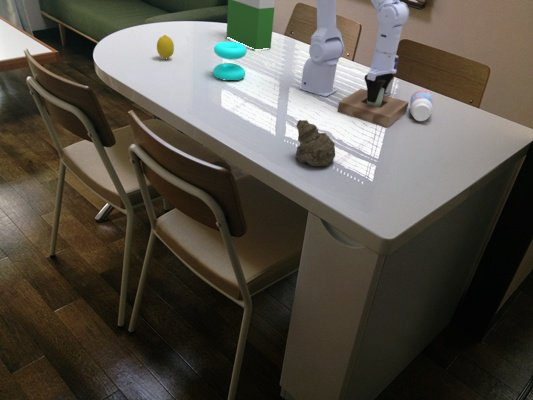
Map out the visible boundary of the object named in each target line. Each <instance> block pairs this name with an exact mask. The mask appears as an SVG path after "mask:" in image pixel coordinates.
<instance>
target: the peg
mask: <svg viewBox="0 0 533 400" xmlns="http://www.w3.org/2000/svg"><path fill="white" fill-rule="evenodd" d="M383 94H384V88H381V90H380V92H379V95H378V97H377V100H376V102H375V103H372V102H369V101H368V100H367V104H370V105H373V106H376V107H381V103H382V98H383Z"/></svg>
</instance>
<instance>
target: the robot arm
mask: <svg viewBox="0 0 533 400" xmlns="http://www.w3.org/2000/svg"><path fill="white" fill-rule="evenodd" d="M370 2H371V4H372V6H374V8H375V10H376V12H377V14H376V15H377V16H376V18H377V19H376V21H377V23H378V33H377V36H376V37H377V39H376V44H375V47H374V53H373V57H372V61H371V62H372V63H371V65H370V69H369V71H368V72H367V74H365V75H364V82H365V85H366V90H367V99H368V101H369V102H372V103H375V102H376V100H377V97H378V95H379V92H380V90H381V88H384V94H385V91H386V89H387V87H388V85H389V83H390V82H391V80H392V79H393V78H394V79H395V77H396V74H397V72H398V71H397V68H396V69H394V65H395V62H394V61H395V57H396V55H397V51H398V47H399V44H400V43H399V42H400V39H401V35H402V31H403V25H405V24H406V23H407V22H408V20H409V18H410V9H409V7H408V4H407V3H405V2H403V1H401V0H370ZM316 26H317V29H316V30H315V31H314V33H313V34H312V35H311V37H310V46H309V49H308V52H309V53H308V54H309V58H308V59H307V60H306V61H305V62H304V65H303V69H302V74H301V82H300V86H299V90H303V91H306V92H309V93H312V94H315V95H319V96H321V97H325V98H326V97H329V96H331V95H332V94H334V93H336V92H338V89H337V88H335V87H334V84H335V78H336V73H337V72H336V71H337V66H338V63H339V61H340V59H341V58H342V57H343V55H344V54H345V44H344V42H343V38H342V32H341V31H340V30H339V29H338V27H337V0H316ZM384 94H383V96H384Z"/></svg>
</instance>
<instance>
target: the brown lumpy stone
mask: <svg viewBox="0 0 533 400" xmlns="http://www.w3.org/2000/svg"><path fill="white" fill-rule="evenodd" d="M296 129H297V131H298V133H297V134H298V135H297V136H298V137H297V141H298V142H299V145H298V146H297V147H296V152H295V157H296V158H297V160H298V162H300V163H301V164H305V163H307V165H308V166H311V167H325V166H330V165H331V164H332V163H333V161H334V159H335V158H336V150H335V149H336V148H335V145H336V144H335V142H334V141H333V140H332V139H331V138H330V136H329V135H328V134H327V133H326V132H319V129H318V127H317V125H315V124H314V123H310V122H309V121H308V120H307V119H304V120H303V119H302V120H301V119H299V120H298V121H297V124H296Z"/></svg>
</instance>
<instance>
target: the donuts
mask: <svg viewBox="0 0 533 400" xmlns="http://www.w3.org/2000/svg"><path fill="white" fill-rule="evenodd" d="M247 49H248V48H246V47H245V46H244V45H242V44H240V43H236V42H232V41H220V42H217V43H216V44H215V45H214V47H213V51H214V54H215V55H217V57H219V58H222V59H223V60H224V59H225V60H230V61H231V60H233V61H234V60H240V59H242V58H244V57H245V56H246V55H247V53H248V50H247ZM212 74H213V75H214V77H216V78H217V79H218V78H220V79H219V80H221V79H225V80H238V81H240V79H241V80H243V79H242V78H245V76H246V70H245V68H243V66H241V65H239V64H236V63H232V62H224V63H219V64H217V65H216V66H215V67H214V68H213V73H212Z"/></svg>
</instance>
